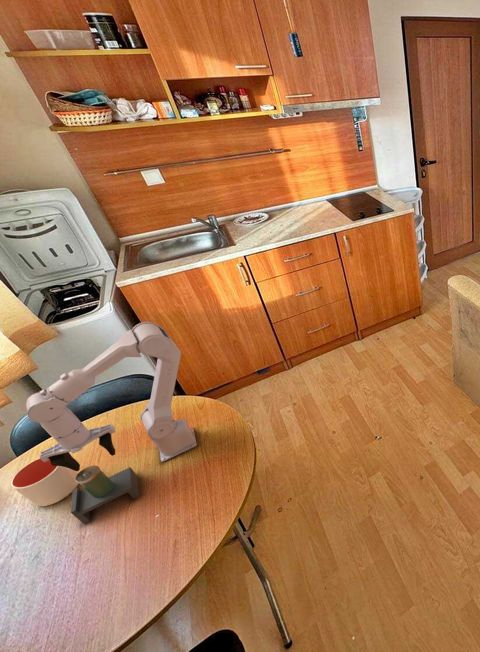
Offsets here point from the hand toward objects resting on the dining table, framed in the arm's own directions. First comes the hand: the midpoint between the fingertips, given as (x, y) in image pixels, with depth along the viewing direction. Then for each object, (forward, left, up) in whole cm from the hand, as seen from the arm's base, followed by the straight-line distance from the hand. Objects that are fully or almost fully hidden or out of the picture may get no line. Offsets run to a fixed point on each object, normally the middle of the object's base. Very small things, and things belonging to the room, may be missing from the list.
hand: (96, 460), depth 104 cm
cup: (+13, -7, -11) cm, 18 cm away
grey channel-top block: (+1, +6, -10) cm, 12 cm away
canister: (+1, +6, -6) cm, 8 cm away
